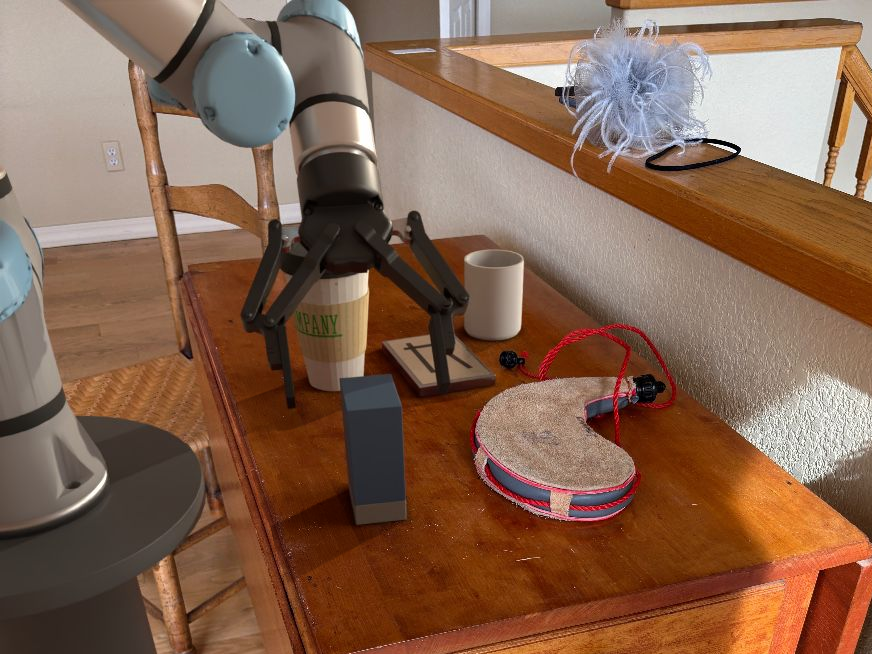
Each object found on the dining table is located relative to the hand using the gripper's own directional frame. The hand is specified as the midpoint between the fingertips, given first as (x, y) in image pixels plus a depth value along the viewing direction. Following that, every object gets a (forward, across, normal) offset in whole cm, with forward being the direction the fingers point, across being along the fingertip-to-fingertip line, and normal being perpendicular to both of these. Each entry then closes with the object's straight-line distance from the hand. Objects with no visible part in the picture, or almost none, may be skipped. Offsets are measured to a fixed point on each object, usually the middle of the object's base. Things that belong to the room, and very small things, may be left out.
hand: (368, 396), depth 82 cm
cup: (-19, -19, -32) cm, 42 cm away
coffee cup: (-11, +1, -24) cm, 26 cm away
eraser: (+9, 0, -4) cm, 10 cm away
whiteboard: (-12, -11, -24) cm, 29 cm away
